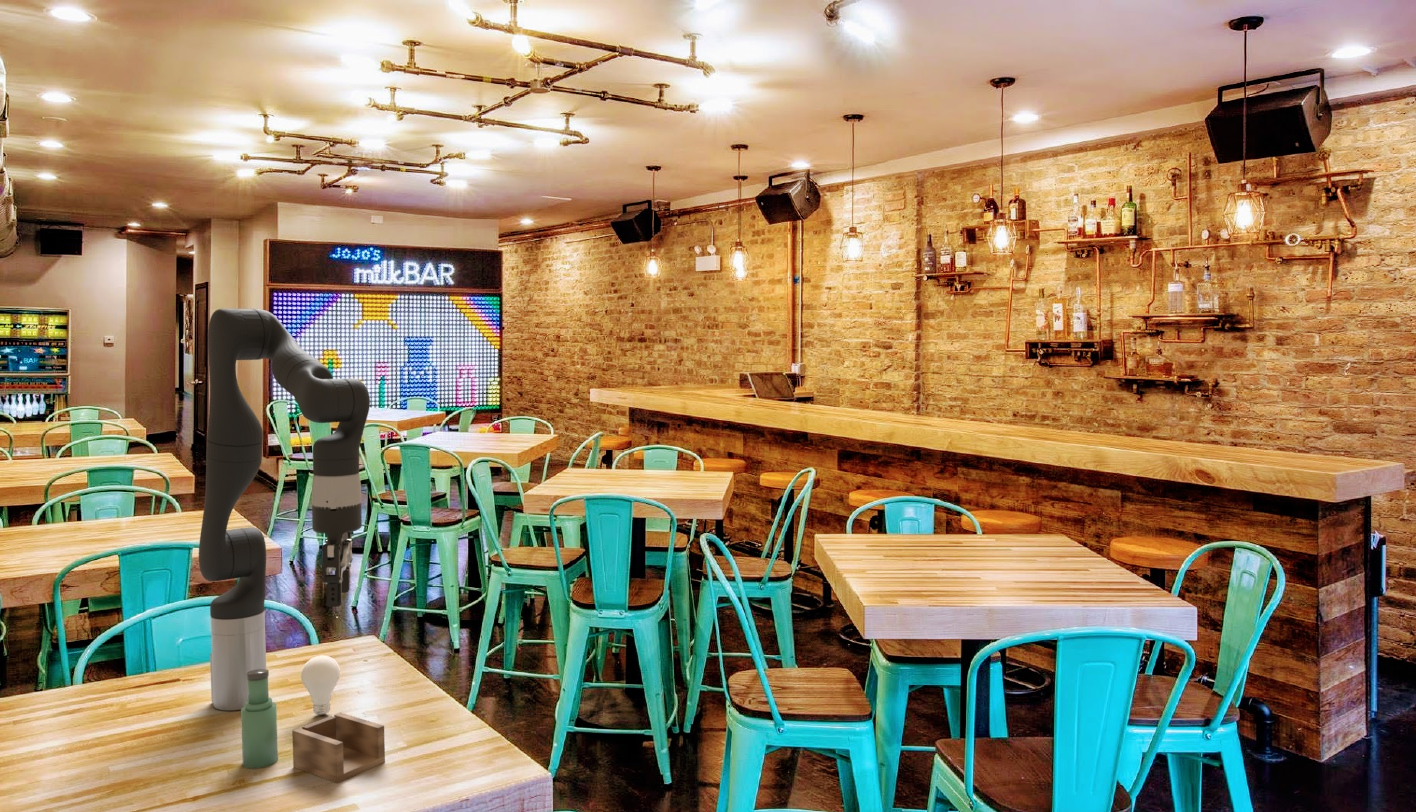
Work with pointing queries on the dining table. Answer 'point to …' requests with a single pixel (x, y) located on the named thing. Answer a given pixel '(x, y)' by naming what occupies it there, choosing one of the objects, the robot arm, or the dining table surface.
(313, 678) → the light bulb
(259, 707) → the bottle
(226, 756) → the dining table surface
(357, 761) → the brown open-sided frame
